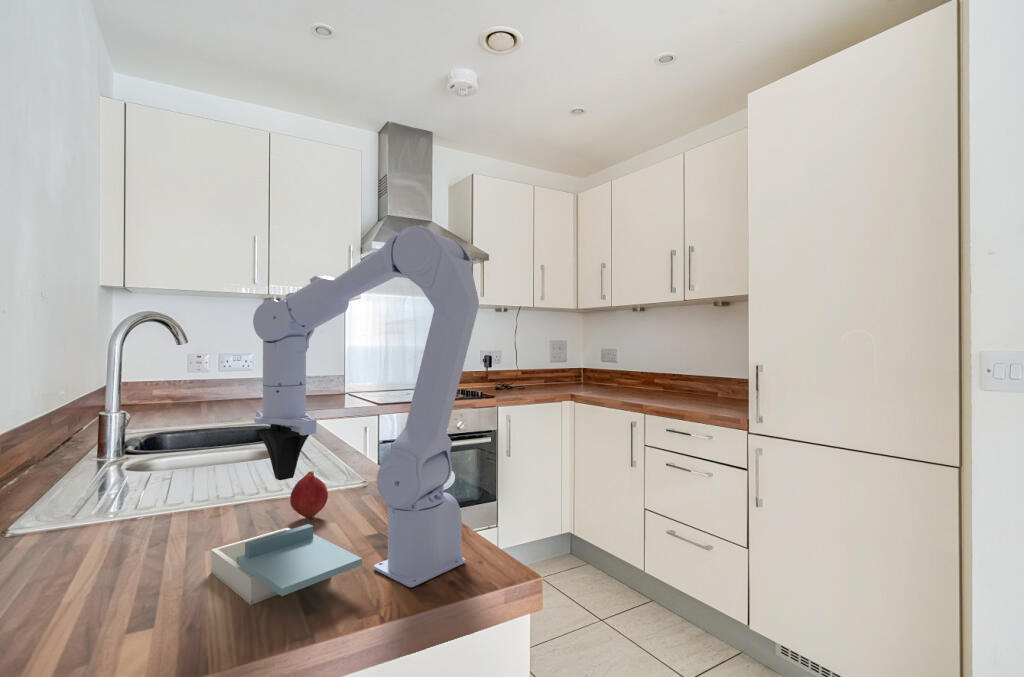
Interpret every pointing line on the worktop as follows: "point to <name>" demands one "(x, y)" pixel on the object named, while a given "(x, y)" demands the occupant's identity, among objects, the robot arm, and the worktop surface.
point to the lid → (295, 559)
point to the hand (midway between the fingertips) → (284, 478)
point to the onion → (309, 496)
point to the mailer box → (239, 571)
